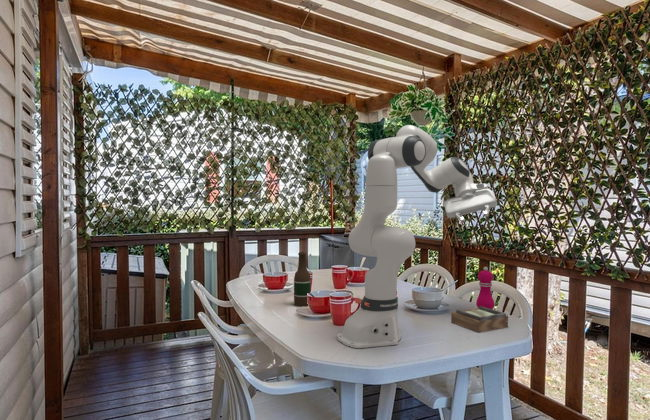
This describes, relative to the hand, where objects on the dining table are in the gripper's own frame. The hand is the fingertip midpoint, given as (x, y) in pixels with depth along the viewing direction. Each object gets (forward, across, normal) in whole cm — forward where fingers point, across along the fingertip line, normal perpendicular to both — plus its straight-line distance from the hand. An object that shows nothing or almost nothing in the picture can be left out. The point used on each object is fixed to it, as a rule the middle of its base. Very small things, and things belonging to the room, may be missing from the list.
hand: (474, 218), depth 175 cm
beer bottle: (+12, -82, +16) cm, 84 cm away
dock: (+34, -9, +21) cm, 41 cm away
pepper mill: (+24, -6, +34) cm, 42 cm away
